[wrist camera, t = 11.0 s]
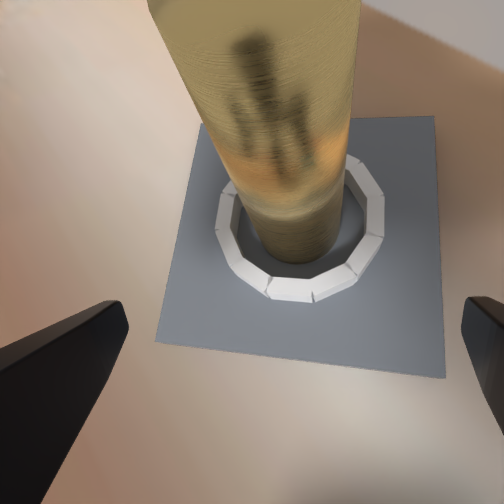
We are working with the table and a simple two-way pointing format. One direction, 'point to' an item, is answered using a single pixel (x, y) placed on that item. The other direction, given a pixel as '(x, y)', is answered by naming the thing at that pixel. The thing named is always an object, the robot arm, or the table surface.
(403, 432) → the table surface
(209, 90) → the brass shaft
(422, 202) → the grey square base plate
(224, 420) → the table surface
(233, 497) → the table surface
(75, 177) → the table surface
